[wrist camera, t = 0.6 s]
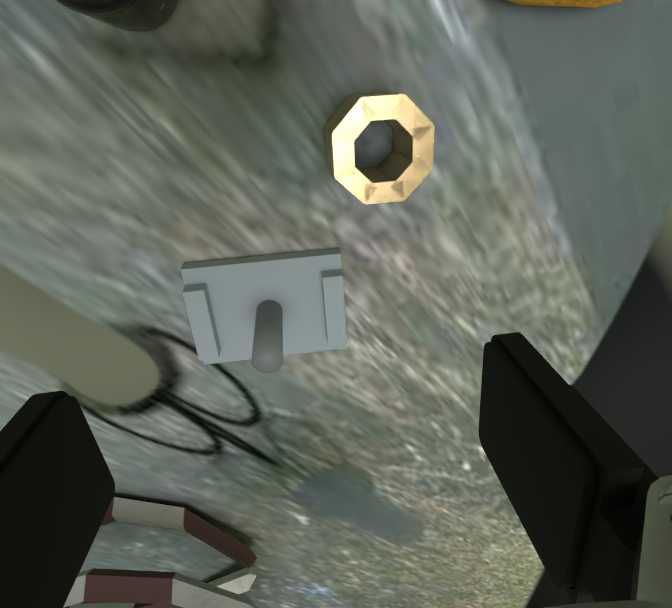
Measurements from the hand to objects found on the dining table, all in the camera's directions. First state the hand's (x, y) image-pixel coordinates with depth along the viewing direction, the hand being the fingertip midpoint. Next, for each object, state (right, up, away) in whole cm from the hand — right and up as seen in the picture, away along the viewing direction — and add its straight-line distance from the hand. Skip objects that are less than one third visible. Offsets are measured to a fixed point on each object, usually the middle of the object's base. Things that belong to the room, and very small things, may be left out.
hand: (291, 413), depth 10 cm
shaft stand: (-5, +3, +32) cm, 32 cm away
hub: (+4, +16, +26) cm, 31 cm away
